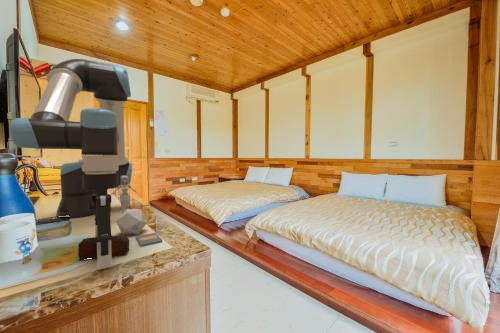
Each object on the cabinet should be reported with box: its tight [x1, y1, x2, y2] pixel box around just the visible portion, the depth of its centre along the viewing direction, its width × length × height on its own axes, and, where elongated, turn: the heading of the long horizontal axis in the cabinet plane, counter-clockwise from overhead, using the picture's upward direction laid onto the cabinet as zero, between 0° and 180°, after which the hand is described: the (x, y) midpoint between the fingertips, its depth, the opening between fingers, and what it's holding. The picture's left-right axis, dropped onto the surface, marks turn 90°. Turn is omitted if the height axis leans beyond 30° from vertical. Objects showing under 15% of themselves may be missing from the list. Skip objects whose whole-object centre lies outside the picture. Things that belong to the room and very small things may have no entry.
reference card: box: [135, 232, 163, 248], centre depth 68 cm, size 8×6×1 cm
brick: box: [77, 234, 130, 262], centre depth 57 cm, size 11×4×5 cm, turn 110°
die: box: [115, 208, 148, 235], centre depth 74 cm, size 8×9×10 cm
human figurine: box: [110, 176, 142, 215], centre depth 87 cm, size 12×4×18 cm, turn 123°
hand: (103, 257), depth 56 cm, fingers open, 12 cm apart
